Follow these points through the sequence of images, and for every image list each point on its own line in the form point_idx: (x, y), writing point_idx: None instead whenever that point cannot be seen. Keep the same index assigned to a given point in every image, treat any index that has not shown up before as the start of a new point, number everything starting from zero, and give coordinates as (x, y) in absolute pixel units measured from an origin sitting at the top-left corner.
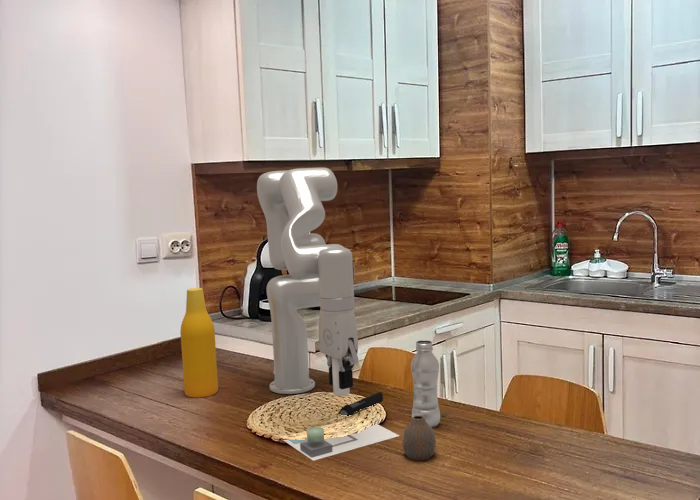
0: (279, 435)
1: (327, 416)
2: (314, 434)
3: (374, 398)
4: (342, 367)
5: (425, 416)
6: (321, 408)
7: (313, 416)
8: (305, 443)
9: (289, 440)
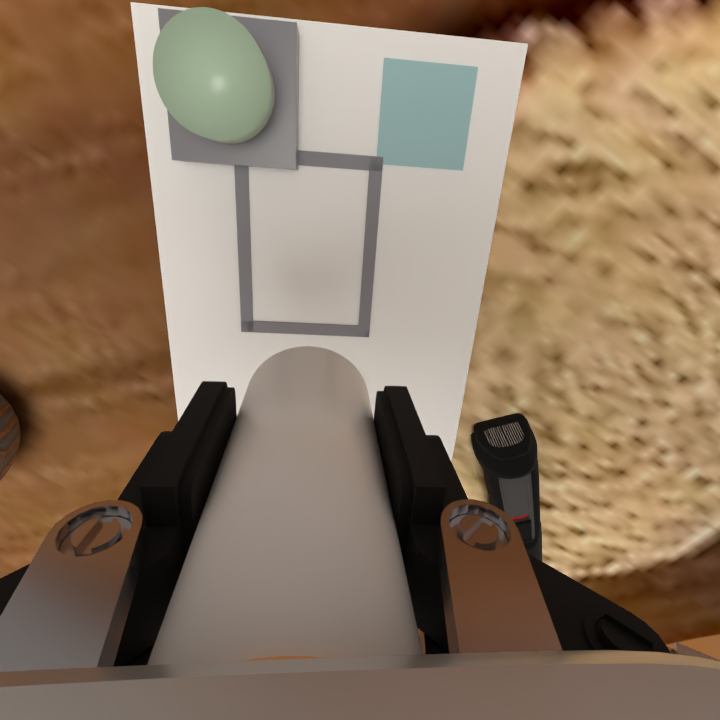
0: (563, 87)
1: (562, 388)
2: (164, 35)
3: None
4: (47, 557)
5: None
6: (647, 415)
7: (610, 346)
8: (273, 46)
9: (445, 64)
